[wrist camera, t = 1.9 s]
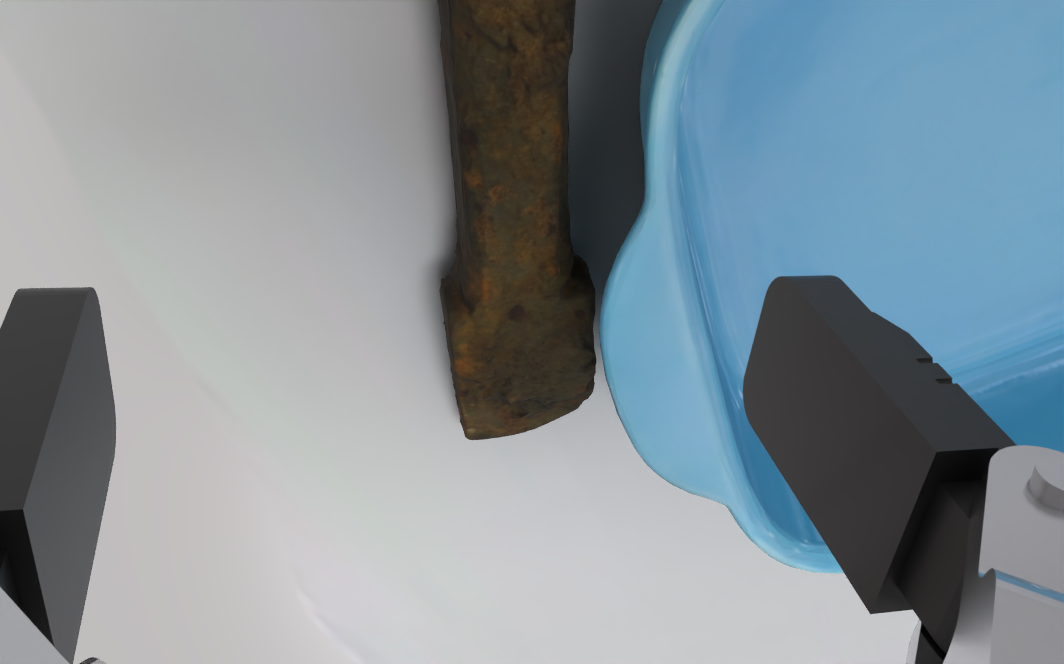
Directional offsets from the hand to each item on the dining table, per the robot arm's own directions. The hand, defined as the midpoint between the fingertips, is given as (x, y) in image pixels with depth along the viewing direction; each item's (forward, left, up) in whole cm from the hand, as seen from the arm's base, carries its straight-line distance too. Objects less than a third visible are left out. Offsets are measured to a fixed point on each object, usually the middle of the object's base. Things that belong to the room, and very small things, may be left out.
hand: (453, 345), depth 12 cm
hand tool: (+3, -1, -15) cm, 15 cm away
